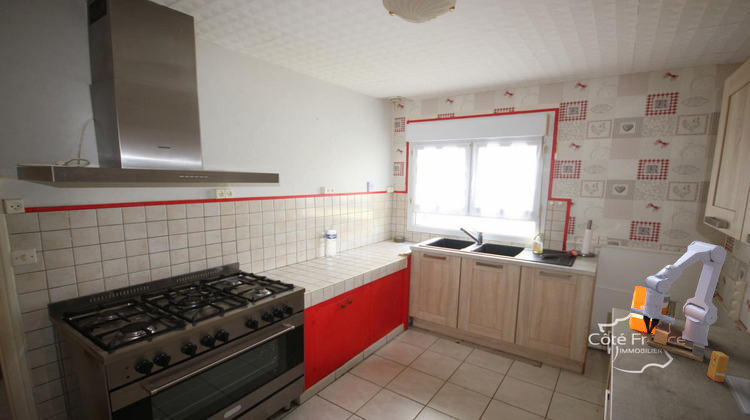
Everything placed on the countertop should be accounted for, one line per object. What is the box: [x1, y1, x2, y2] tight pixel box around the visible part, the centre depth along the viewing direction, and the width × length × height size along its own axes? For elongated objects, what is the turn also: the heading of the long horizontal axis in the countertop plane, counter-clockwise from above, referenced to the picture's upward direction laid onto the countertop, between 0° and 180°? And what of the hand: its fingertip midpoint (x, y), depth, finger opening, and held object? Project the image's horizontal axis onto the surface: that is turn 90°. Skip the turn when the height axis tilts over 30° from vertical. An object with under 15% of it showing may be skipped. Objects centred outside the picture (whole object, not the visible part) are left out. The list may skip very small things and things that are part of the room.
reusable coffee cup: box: [656, 291, 671, 326], centre depth 158 cm, size 13×13×15 cm
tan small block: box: [653, 328, 669, 345], centre depth 137 cm, size 5×4×4 cm
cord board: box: [646, 334, 706, 363], centre depth 135 cm, size 9×17×5 cm, turn 46°
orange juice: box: [628, 285, 657, 335], centre depth 150 cm, size 8×9×20 cm
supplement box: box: [706, 350, 730, 383], centre depth 116 cm, size 3×3×10 cm
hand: (648, 333), depth 140 cm, fingers closed
